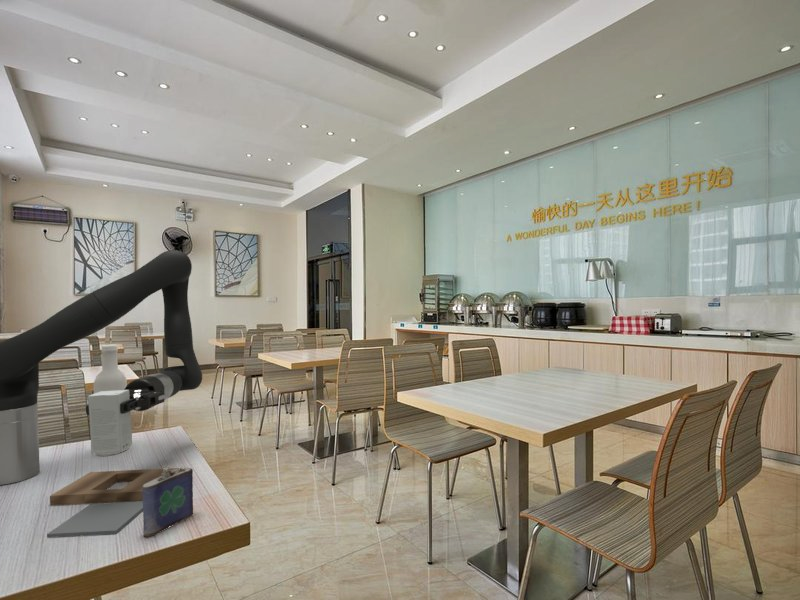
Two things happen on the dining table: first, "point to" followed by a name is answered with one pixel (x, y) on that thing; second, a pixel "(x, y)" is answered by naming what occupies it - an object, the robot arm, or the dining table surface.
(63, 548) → the dining table surface
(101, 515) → the slate mat
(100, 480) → the brown slab with opening
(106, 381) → the bottle
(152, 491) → the flask
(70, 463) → the dining table surface
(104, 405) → the skincare box
